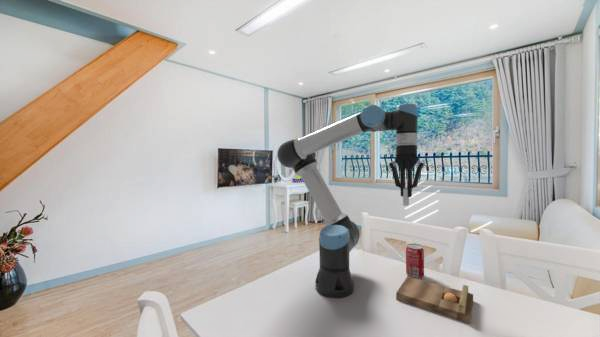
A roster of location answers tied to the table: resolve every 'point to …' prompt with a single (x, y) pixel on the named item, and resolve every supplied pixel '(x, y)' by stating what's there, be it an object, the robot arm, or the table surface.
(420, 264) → the soda can
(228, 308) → the table surface
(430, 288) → the wooden board
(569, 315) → the table surface
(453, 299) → the ball
